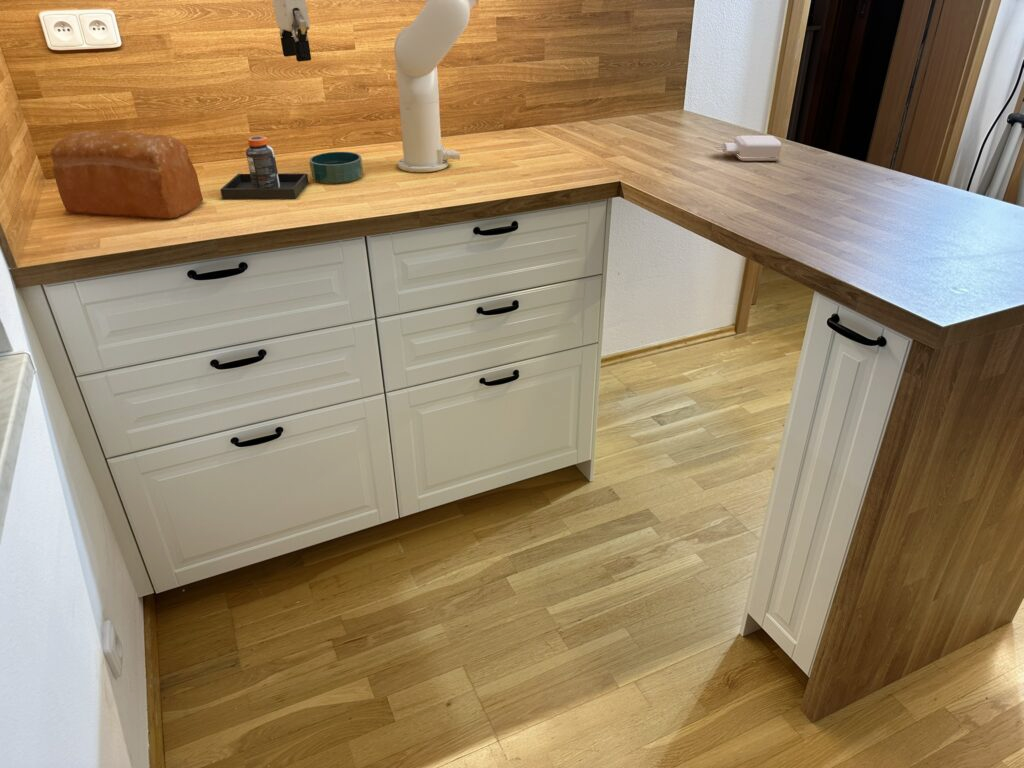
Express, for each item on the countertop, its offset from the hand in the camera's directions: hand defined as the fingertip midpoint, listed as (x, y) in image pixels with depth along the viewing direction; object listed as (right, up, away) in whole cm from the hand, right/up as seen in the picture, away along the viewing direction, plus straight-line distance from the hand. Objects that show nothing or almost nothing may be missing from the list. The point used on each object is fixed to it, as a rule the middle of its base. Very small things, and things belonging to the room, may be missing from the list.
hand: (297, 58), depth 166 cm
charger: (+109, -16, +22) cm, 112 cm away
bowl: (+7, -25, +9) cm, 27 cm away
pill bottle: (-7, -30, 0) cm, 31 cm away
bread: (-31, -37, -10) cm, 49 cm away
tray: (-7, -30, 0) cm, 31 cm away
